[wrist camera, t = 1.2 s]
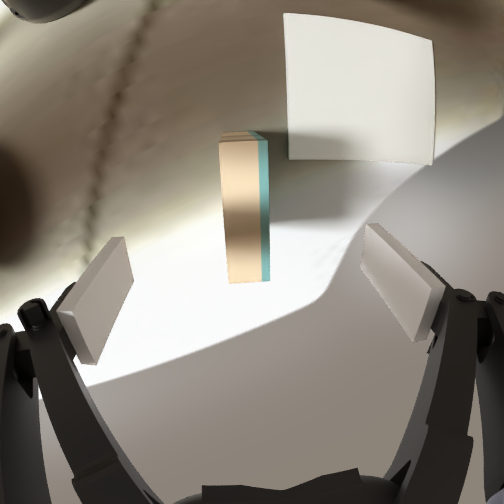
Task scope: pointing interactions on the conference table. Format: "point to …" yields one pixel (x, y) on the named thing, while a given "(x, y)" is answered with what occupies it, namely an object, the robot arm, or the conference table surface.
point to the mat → (358, 91)
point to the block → (245, 205)
